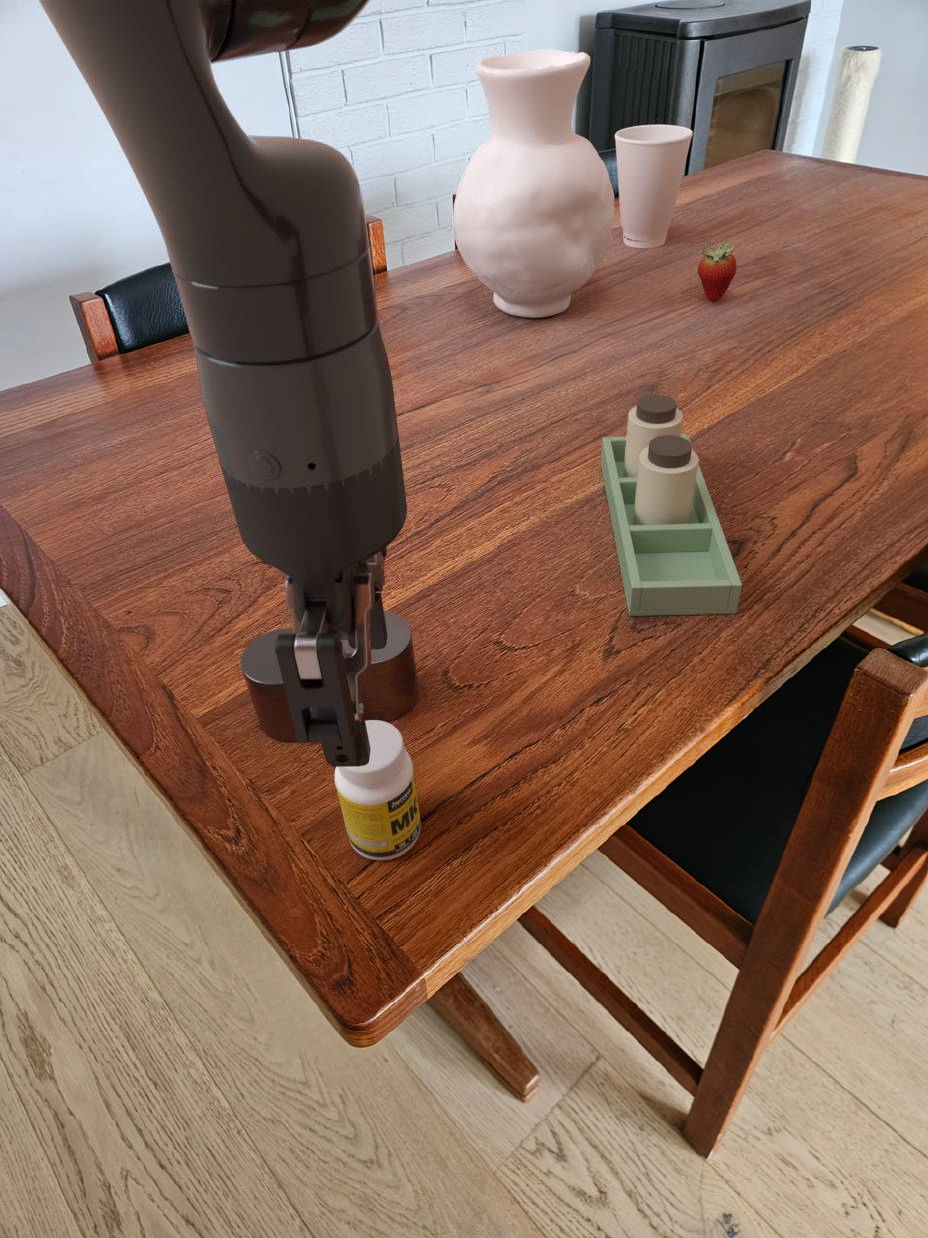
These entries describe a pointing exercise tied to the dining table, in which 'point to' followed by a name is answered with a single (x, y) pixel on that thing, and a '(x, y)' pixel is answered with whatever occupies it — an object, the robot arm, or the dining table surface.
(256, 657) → the grey tin
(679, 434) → the cream bottle
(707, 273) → the fruit
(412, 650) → the grey tin
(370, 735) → the supplement bottle
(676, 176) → the cup
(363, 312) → the robot arm
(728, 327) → the dining table surface
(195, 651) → the dining table surface
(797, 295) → the dining table surface
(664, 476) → the cream bottle
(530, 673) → the dining table surface
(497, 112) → the vase
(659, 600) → the rack
